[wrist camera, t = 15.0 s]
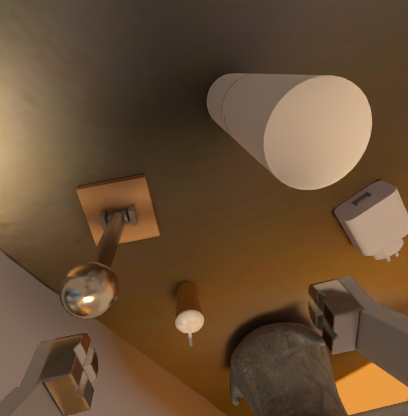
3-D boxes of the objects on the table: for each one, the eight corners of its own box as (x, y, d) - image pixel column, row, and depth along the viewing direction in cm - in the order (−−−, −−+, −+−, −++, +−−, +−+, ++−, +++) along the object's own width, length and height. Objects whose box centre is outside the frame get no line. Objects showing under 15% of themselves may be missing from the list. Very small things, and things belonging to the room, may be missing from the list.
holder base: (78, 186, 43) (70, 196, 40) (145, 173, 44) (144, 182, 40) (98, 243, 48) (93, 256, 44) (160, 231, 48) (159, 243, 45)
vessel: (263, 392, 70) (298, 504, 52) (204, 348, 61) (222, 464, 43) (340, 343, 66) (408, 445, 48) (289, 288, 57) (348, 388, 39)
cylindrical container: (215, 134, 43) (277, 204, 20) (199, 84, 40) (250, 101, 17) (261, 117, 43) (375, 167, 20) (249, 65, 39) (367, 56, 17)
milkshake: (173, 302, 55) (176, 347, 46) (172, 278, 52) (175, 321, 43) (198, 300, 55) (205, 344, 46) (198, 277, 53) (206, 319, 44)
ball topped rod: (41, 289, 23) (62, 337, 25) (104, 276, 24) (120, 325, 25) (98, 203, 43) (107, 233, 45) (132, 196, 43) (140, 227, 45)
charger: (362, 264, 57) (331, 210, 51) (405, 237, 56) (378, 178, 49) (379, 279, 53) (347, 222, 47) (426, 251, 51) (399, 188, 45)
